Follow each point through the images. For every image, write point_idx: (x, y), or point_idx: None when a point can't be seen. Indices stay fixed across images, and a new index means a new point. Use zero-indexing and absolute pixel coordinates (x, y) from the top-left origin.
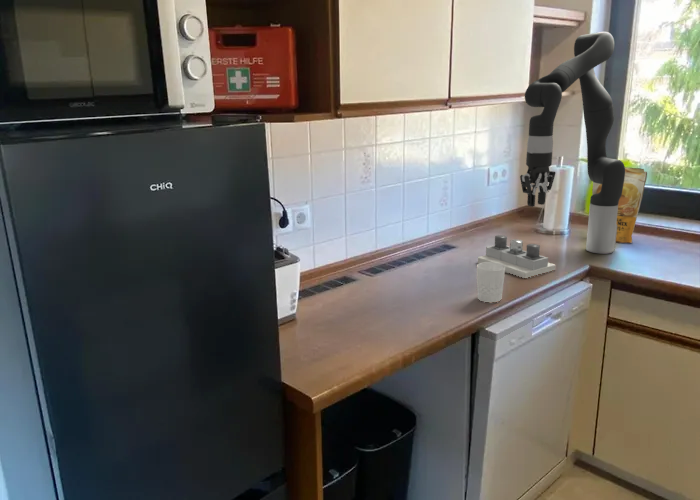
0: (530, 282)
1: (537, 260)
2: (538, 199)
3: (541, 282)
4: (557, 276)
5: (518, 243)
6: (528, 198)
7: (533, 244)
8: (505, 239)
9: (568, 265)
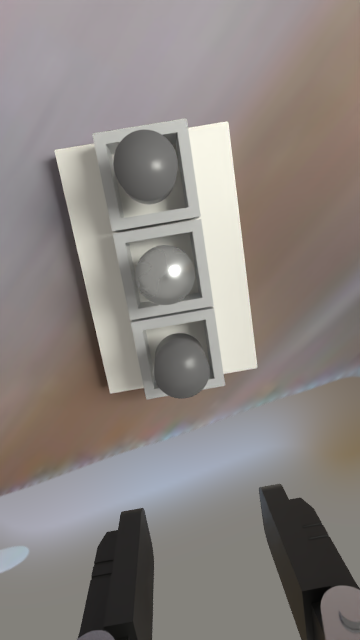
0: (107, 415)
1: (167, 395)
2: (271, 522)
3: (137, 427)
4: (217, 406)
5: (155, 302)
6: (91, 604)
7: (194, 358)
8: (153, 199)
9: (329, 337)
